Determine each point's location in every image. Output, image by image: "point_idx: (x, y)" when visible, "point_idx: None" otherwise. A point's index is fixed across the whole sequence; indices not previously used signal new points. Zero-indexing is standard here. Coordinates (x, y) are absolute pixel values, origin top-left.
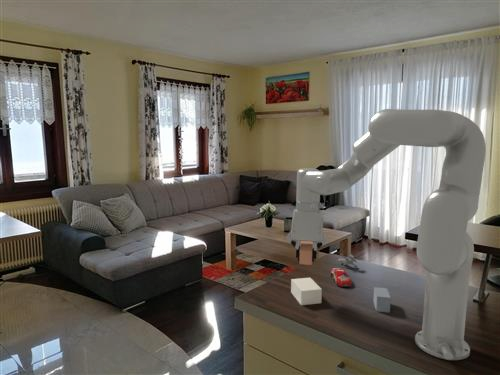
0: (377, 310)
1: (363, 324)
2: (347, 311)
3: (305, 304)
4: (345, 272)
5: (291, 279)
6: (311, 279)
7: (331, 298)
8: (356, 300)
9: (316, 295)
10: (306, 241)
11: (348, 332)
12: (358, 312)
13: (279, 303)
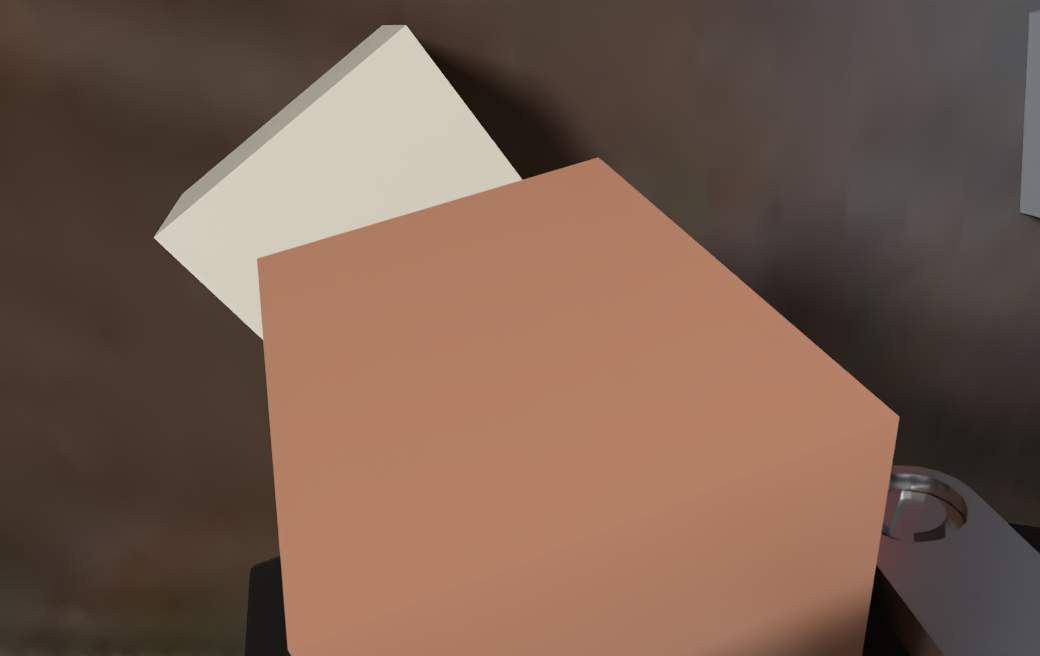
0: (1035, 212)
1: (912, 454)
2: (813, 329)
3: None
4: None
5: (160, 242)
6: (447, 99)
7: (660, 137)
8: (888, 66)
9: None
10: (597, 574)
11: None
12: (892, 301)
13: (207, 506)
